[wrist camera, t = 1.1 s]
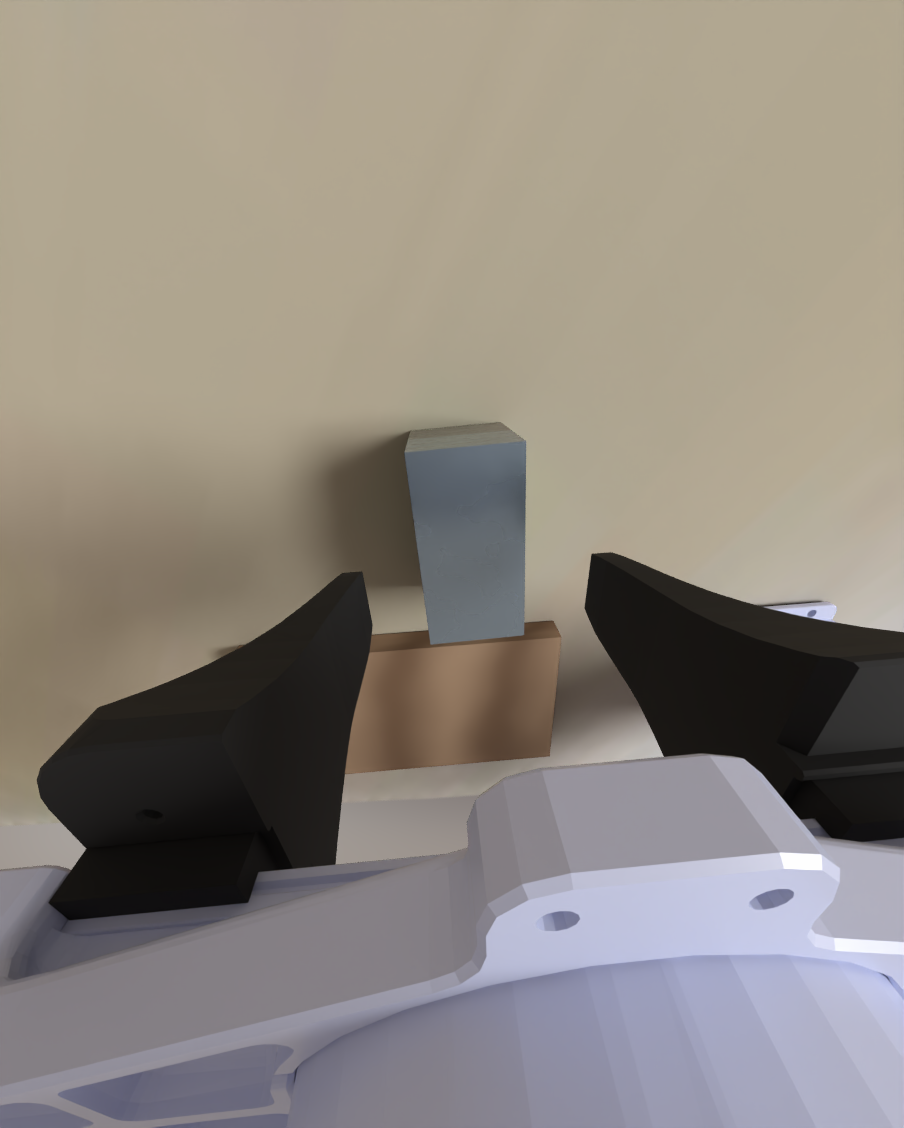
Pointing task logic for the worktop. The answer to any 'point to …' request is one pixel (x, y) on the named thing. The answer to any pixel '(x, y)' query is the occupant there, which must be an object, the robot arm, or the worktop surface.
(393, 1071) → the robot arm
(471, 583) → the block
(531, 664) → the stand
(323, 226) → the worktop surface
